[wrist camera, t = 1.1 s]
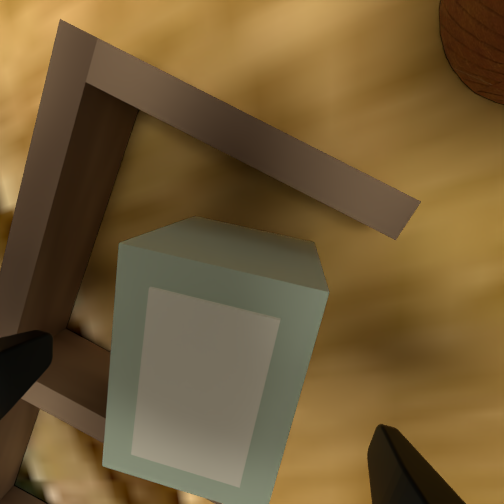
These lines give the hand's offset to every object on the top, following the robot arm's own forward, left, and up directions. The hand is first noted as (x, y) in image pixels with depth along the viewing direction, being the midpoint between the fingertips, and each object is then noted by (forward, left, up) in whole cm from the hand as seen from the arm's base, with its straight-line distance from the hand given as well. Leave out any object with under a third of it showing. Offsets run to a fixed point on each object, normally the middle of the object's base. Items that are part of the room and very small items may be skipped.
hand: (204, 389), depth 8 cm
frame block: (0, 0, -5) cm, 5 cm away
